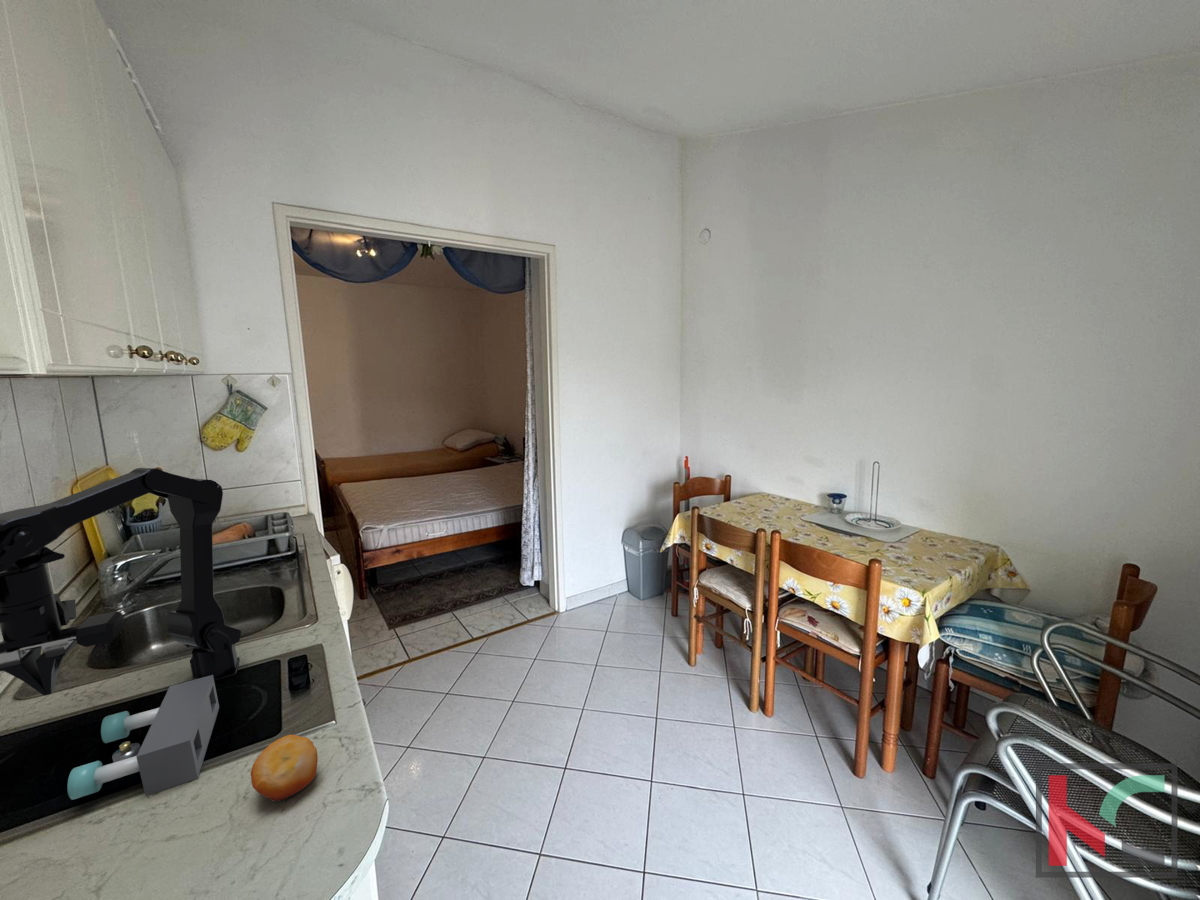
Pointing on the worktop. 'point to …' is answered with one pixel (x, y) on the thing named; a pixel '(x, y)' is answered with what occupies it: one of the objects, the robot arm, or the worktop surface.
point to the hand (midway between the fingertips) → (49, 693)
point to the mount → (179, 735)
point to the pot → (126, 751)
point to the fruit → (284, 767)
